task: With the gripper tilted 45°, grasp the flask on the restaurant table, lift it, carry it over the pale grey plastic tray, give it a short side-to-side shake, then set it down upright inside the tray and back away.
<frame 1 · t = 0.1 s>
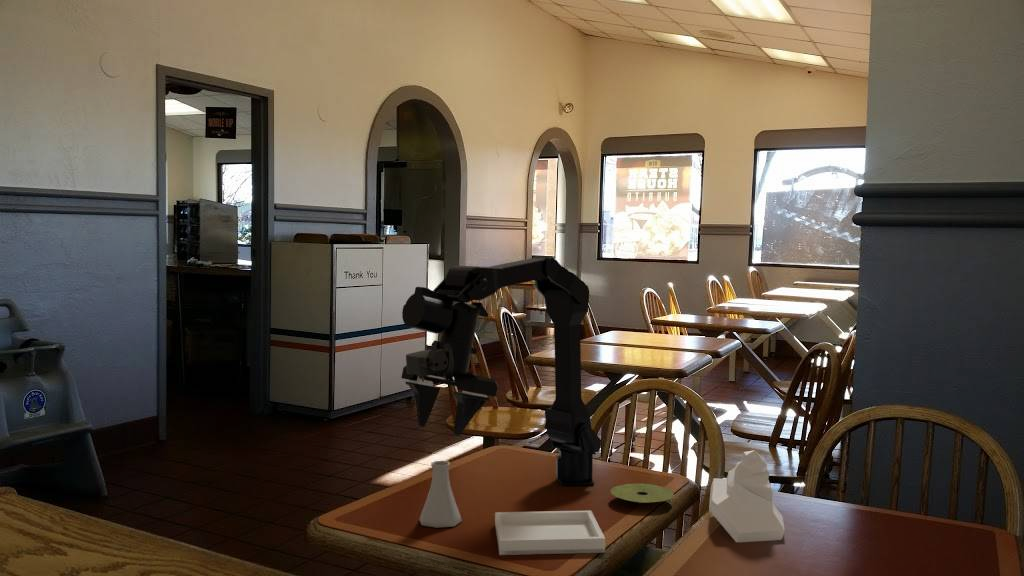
hand: (438, 430, 139), 15 cm above the table, tool pointing down, fingers open, 9 cm apart
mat: (641, 503, 150), on the table
flask: (440, 523, 140), on the table
tray: (547, 538, 132), on the table
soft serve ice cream: (744, 529, 137), on the table
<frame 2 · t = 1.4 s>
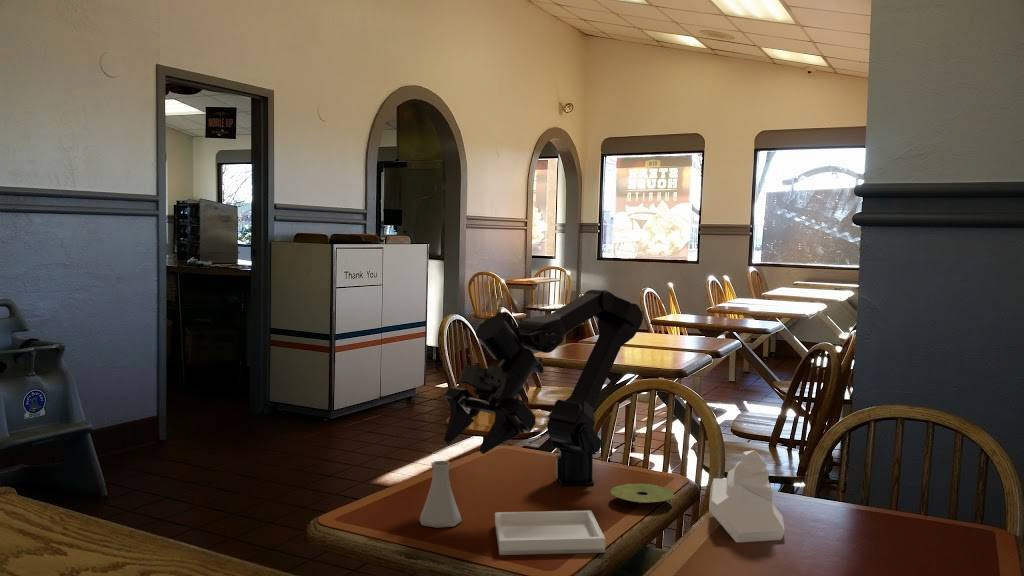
hand: (463, 447, 142), 12 cm above the table, tool tilted 45°, fingers open, 9 cm apart
nothing on the table moved.
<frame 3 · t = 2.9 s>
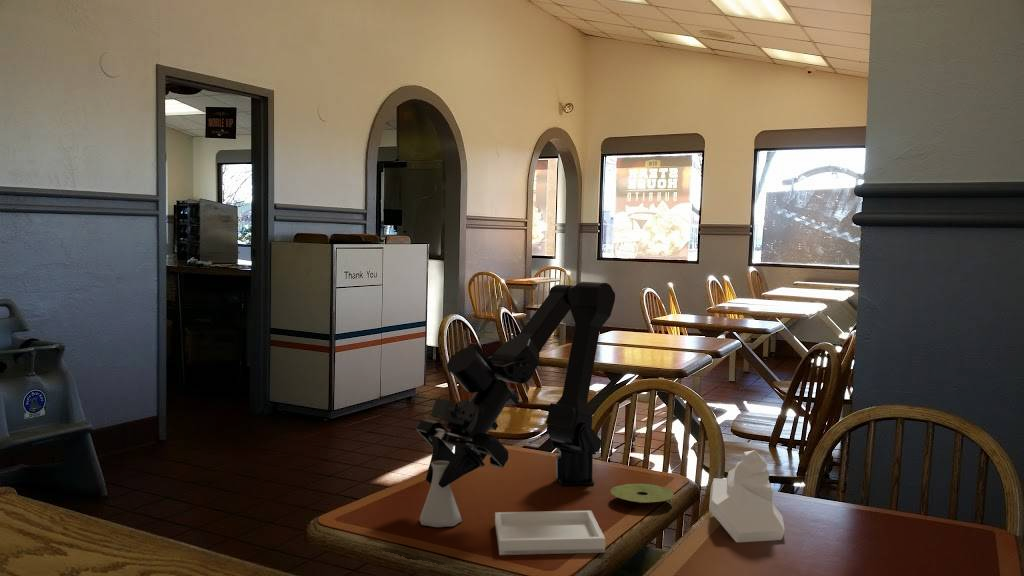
hand: (434, 484, 138), 7 cm above the table, tool tilted 45°, fingers closed on flask, 3 cm apart
flask: (440, 522, 140), on the table, touching gripper
everything else where it was.
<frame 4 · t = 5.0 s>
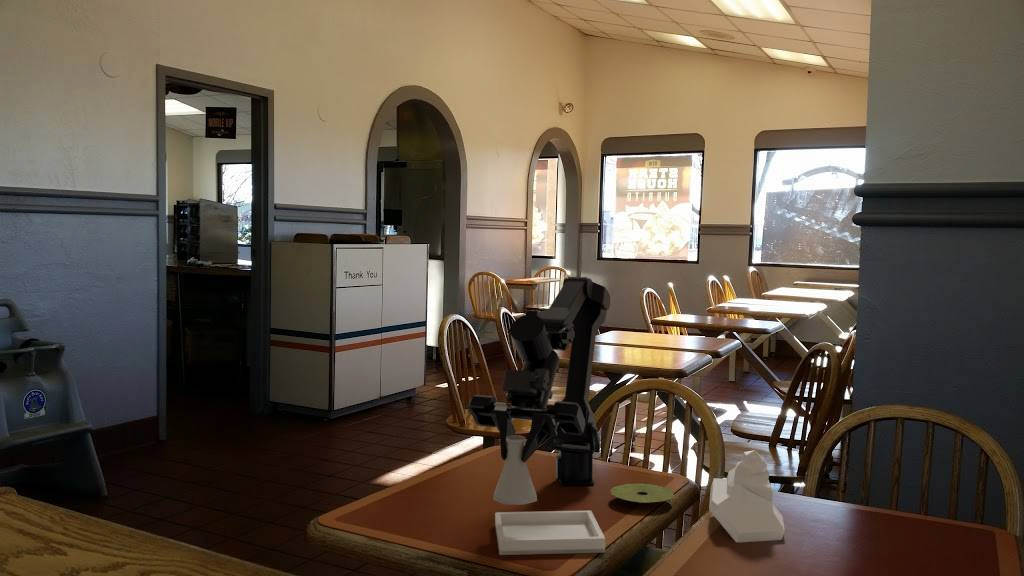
hand: (512, 459, 131), 13 cm above the table, tool tilted 45°, fingers closed on flask, 3 cm apart
flask: (515, 500, 132), point 6 cm above the table, touching gripper
everything else where it was.
when the fingers open (9 cm above the table, at t = 7.4 s): flask drops 1 cm, resting on tray.
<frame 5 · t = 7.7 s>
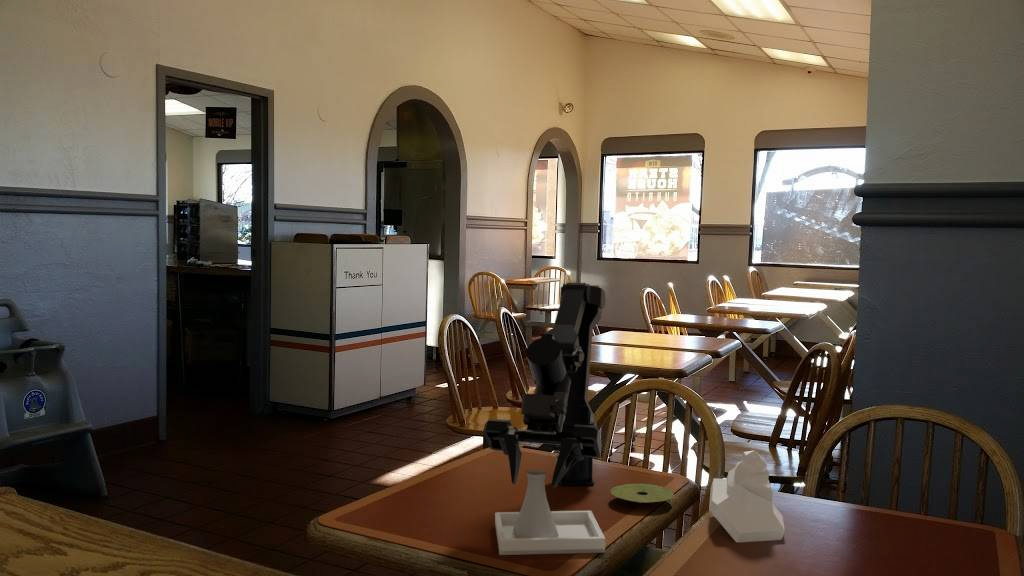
hand: (533, 484, 130), 9 cm above the table, tool tilted 45°, fingers open, 6 cm apart
flask: (535, 535, 132), resting on tray
everything else where it was.
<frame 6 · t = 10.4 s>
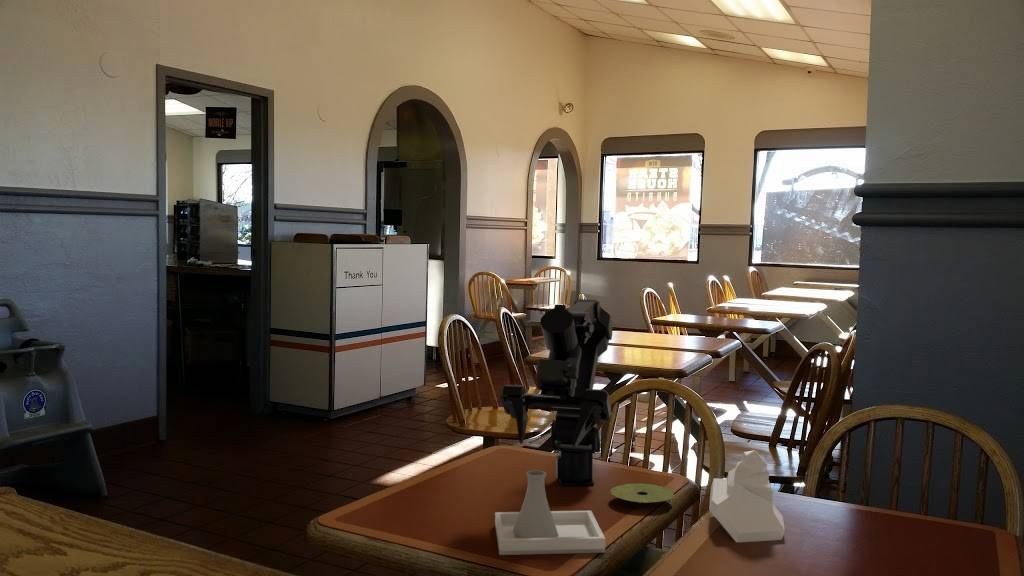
hand: (547, 444, 139), 13 cm above the table, tool tilted 45°, fingers open, 9 cm apart
nothing on the table moved.
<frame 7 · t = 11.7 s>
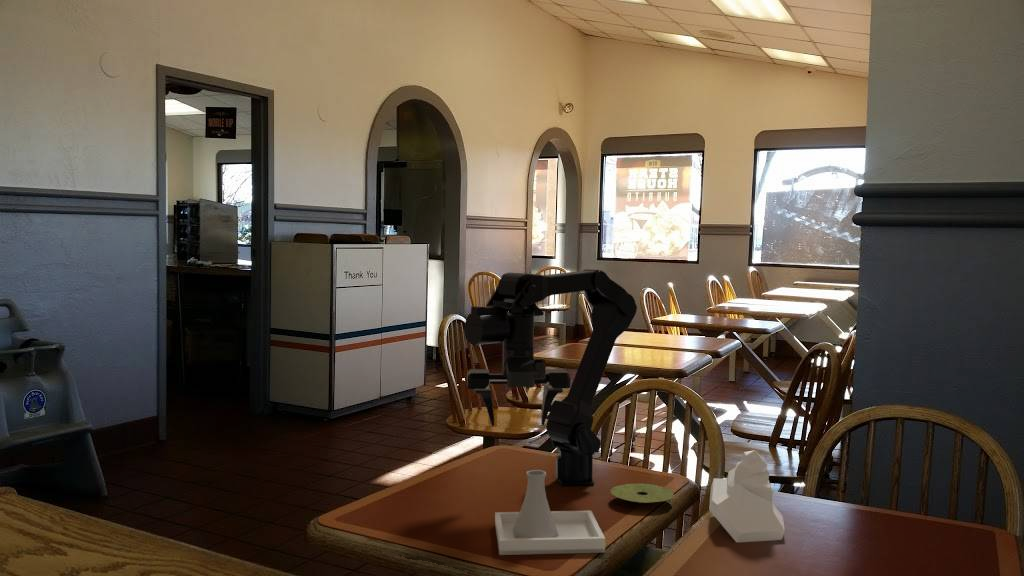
hand: (517, 425, 154), 13 cm above the table, tool pointing down, fingers open, 9 cm apart
nothing on the table moved.
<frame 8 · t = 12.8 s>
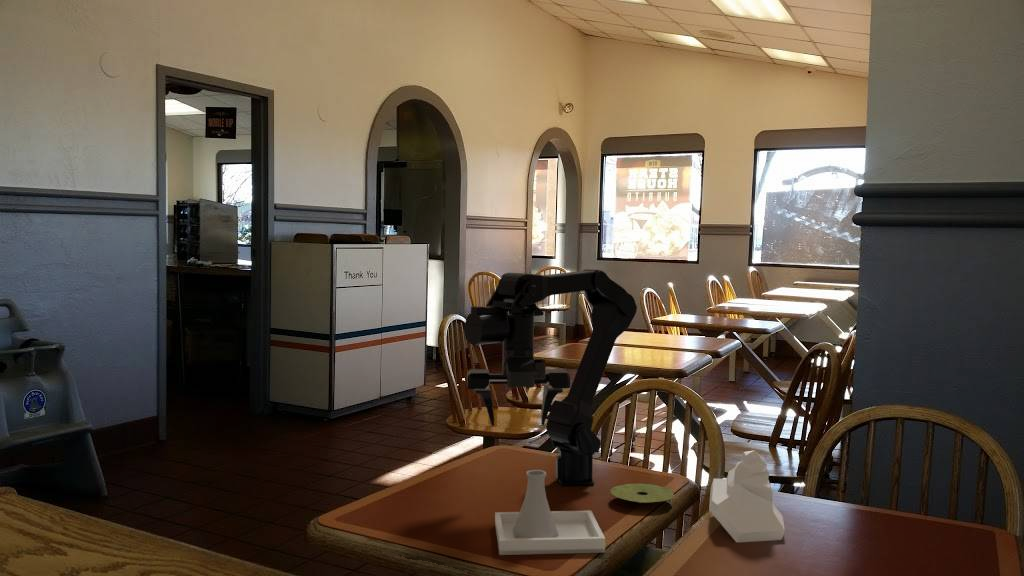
hand: (517, 425, 154), 13 cm above the table, tool pointing down, fingers open, 9 cm apart
nothing on the table moved.
at the end: flask inside the target area on the tray (1.9 cm from its centre), point 0.4 cm above the tray's base; flask tilted 0°; the gripper is holding nothing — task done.
